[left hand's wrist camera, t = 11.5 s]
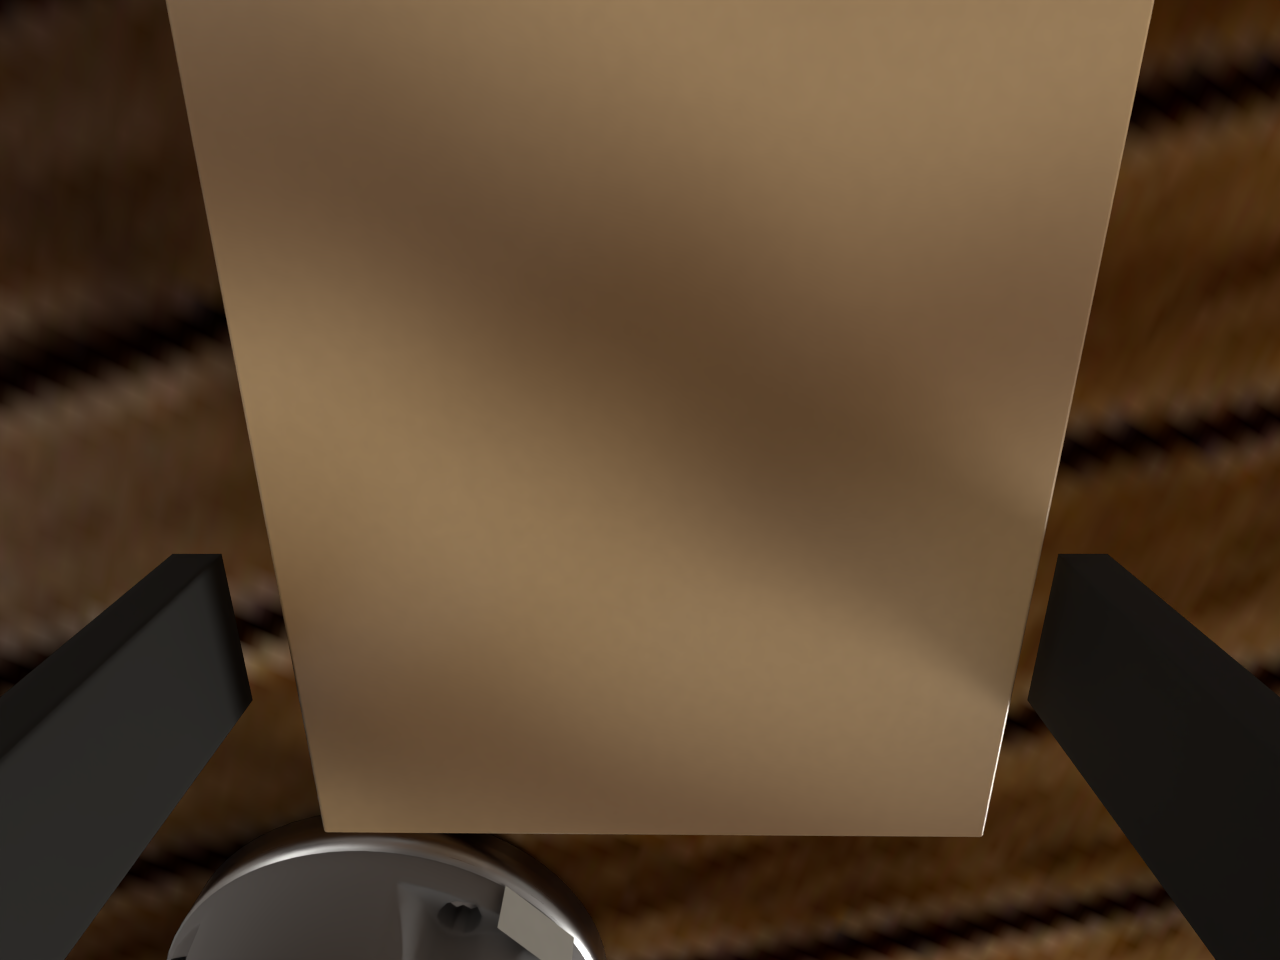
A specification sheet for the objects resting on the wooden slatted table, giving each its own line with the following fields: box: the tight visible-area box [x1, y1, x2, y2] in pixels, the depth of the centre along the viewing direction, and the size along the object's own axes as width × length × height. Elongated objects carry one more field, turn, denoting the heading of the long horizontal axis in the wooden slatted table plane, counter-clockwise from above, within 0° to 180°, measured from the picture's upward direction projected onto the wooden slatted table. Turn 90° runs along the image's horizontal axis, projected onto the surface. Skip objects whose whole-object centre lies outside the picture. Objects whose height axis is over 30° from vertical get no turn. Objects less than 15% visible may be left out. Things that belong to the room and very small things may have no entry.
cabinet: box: [166, 0, 1154, 837], centre depth 15 cm, size 19×11×11 cm, turn 0°
